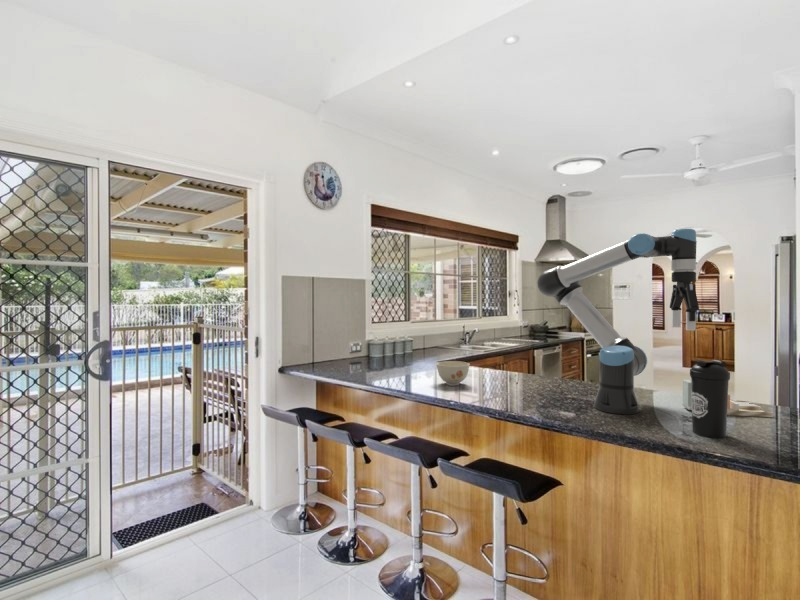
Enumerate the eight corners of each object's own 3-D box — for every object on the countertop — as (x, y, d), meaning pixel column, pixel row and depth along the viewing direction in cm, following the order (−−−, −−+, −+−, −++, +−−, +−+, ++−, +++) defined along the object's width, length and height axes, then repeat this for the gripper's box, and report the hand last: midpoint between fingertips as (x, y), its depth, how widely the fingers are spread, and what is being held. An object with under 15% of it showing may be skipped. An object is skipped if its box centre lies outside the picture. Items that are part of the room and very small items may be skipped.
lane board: (705, 413, 155) (705, 408, 155) (687, 402, 171) (687, 398, 170) (773, 417, 150) (773, 412, 150) (748, 405, 165) (748, 401, 165)
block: (714, 408, 156) (714, 394, 156) (708, 404, 160) (708, 391, 160) (730, 408, 154) (730, 395, 154) (723, 405, 159) (723, 392, 159)
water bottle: (681, 429, 138) (682, 358, 137) (711, 428, 139) (711, 357, 138) (706, 439, 128) (707, 363, 127) (738, 438, 128) (739, 363, 128)
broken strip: (709, 406, 162) (709, 403, 162) (702, 402, 168) (702, 399, 168) (759, 409, 159) (759, 406, 158) (750, 404, 164) (750, 402, 164)
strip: (688, 409, 157) (688, 382, 157) (682, 405, 163) (682, 379, 163) (738, 412, 153) (739, 384, 153) (730, 408, 159) (730, 381, 159)
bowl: (435, 387, 200) (435, 366, 199) (437, 380, 215) (437, 360, 215) (469, 388, 197) (469, 366, 197) (469, 381, 213) (469, 361, 212)
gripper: (710, 269, 144) (710, 332, 144) (681, 272, 168) (681, 326, 168) (685, 269, 146) (685, 331, 146) (660, 272, 170) (660, 325, 170)
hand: (683, 328), depth 157 cm, fingers open, 13 cm apart
